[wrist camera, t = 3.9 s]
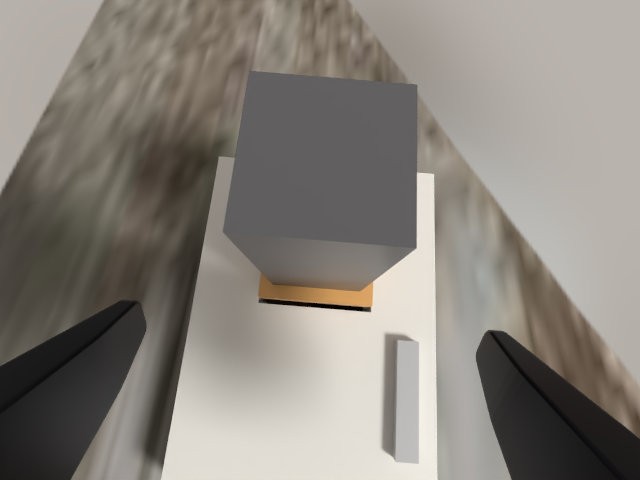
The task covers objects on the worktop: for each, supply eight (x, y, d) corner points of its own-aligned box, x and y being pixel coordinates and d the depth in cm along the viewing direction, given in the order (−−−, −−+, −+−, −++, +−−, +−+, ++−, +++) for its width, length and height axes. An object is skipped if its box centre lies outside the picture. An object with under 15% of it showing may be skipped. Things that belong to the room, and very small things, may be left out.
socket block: (416, 503, 17) (443, 550, 13) (182, 484, 17) (147, 525, 13) (417, 195, 21) (437, 169, 18) (232, 179, 21) (216, 150, 18)
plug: (358, 310, 19) (446, 279, 7) (270, 303, 19) (187, 257, 7) (363, 226, 20) (442, 65, 8) (280, 219, 20) (227, 47, 8)
